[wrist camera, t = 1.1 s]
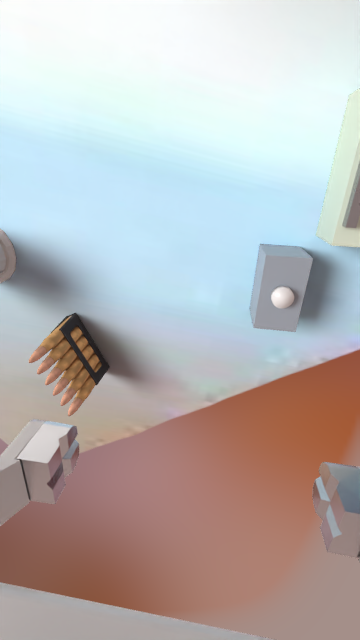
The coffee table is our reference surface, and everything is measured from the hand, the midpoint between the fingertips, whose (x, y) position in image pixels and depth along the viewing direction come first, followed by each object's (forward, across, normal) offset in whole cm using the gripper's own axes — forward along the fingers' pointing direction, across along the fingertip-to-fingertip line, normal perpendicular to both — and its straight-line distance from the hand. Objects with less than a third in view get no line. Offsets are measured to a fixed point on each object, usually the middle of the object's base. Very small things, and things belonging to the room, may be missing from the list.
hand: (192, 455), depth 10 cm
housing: (+32, -8, +2) cm, 33 cm away
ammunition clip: (+33, +19, +16) cm, 41 cm away
